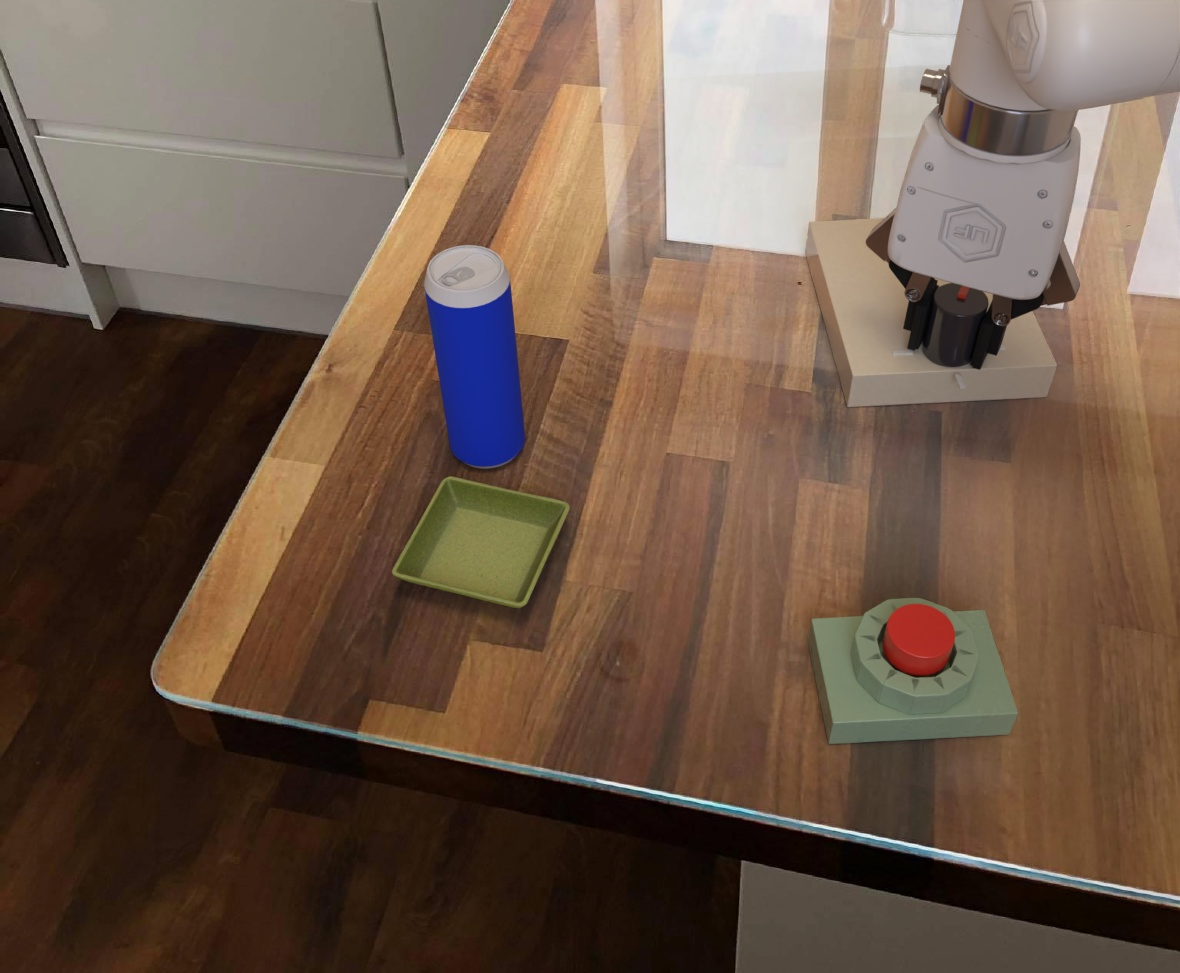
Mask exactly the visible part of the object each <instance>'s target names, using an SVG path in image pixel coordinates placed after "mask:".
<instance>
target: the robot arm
mask: <svg viewBox="0 0 1180 973" xmlns="http://www.w3.org/2000/svg"><path fill="white" fill-rule="evenodd" d="M957 25H958V26H957V31H956V35H955V40H954V46H953V49H952V54H951V60H950V65H949V64H948V65H947V66H946V68H945V69H941V68H939V69H937V70H935V69H930V68H925V69H924V72H923V73H922V77H921V79H920V80H921V81H920V84H919V92H920V93H924V94H928V95H930V97H932V98H935V99H936V104H937V105H936V106H935V107H934V108H933V109H932V110H931V112H930V113H929V114H928V115H926V117H925V119H924V120H923V123H922V125H921V128H920V130H919V132H918V135H917V137H916V139H915V141H914V142H915V143H914V145H913V148H912V149H911V150H912V151H911V155H910V156H909V160H908V163H907V166H906V168H905V173H904V177H903V180H902V182H901V183H902V184H901V187H900V191H899V195H898V198H897V203H896V206H895V208H894V209H893V210H892V211H890V212H889V213H888V214H887V215H885V217H883V218H884V219H883V220H882V221H881V222H880V223H879V224H877V225H876V226H875V227H874V228H873V229H872V231H871V232H870V234H869V236H868V237H867V239H866V245H867V246H868V248H870V249H871V250H872V251H873V252H874V253H875V254H876V255H878V256H879V257H880V258H881V259H882V260H883V261H886V262H887V263H889V268H890V269H891V271H892V272H893V273H894V275H895V276H896V277H897V279H898V280H899V281H900V283H901V284H902V285H903V287H904V288H905V292H904V294H905V297H906V298H907V299H908V300H909V302H908V307H907V312H906V317H905V321H904V326H903V329H905V330H908V331H911V333H910V338H909V342H908V347H907V349H910V350H913V351H915V350H916V349H917V350H918V349H919V347H920V345H921V343H922V341H923V339H924V335H925V330H926V326H927V321H928V317H929V312H930V308H931V303H932V299H933V294H934V292H935V291H936V290H937V288H939V285H937V282H938V280H935V279H934V278H936V279H939V280H943V281H946V282H950V283H954V284H957V285H961V286H965V287H968V288H972V289H976V290H980V291H983V292H987V293H991V294H993V300H992V302H991V304H990V306H989V308H988V311H987V313H986V315H985V317H984V319H983V321H982V324H981V327H980V331H979V334H978V338H977V342H976V345H975V349H974V353H973V357H972V360H971V364H970V365H972V366H973V368H975V369H978V370H980V369H981V367H982V365H983V363H984V360H985V358H986V356H987V354H992V355H995V356H997V354H998V352H999V349H1000V347H1001V344H1002V341H1003V338H1004V334H1005V331H1006V327H1007V325H1008V324H1009V323H1010V321H1011V320H1012V319H1014V318H1017V317H1019V316H1021V315H1024V314H1026V313H1029V312H1031V311H1033V312H1034V311H1036V310H1038V309H1040V308H1041V307H1042V306H1047V307H1048V306H1053V305H1059V304H1064V303H1068V302H1072V301H1074V300H1075V299H1076V298H1077V295H1078V292H1079V290H1080V287H1081V281H1080V279H1079V276H1078V274H1077V272H1076V269H1075V267H1074V264H1073V261H1072V259H1071V256H1070V254H1069V250H1068V248H1067V245H1066V243H1065V238H1066V233H1067V229H1068V226H1069V221H1070V218H1071V213H1072V209H1073V205H1074V199H1075V195H1076V188H1077V185H1078V184H1077V182H1078V176H1079V171H1080V159H1081V149H1082V148H1081V144H1082V137H1081V134H1080V131H1079V129H1078V128H1077V127H1076V126H1075V124H1076V120H1077V117H1078V114H1079V111H1083V110H1087V109H1088V110H1089V109H1094V108H1099V107H1106V106H1111V105H1115V104H1121V103H1126V102H1127V103H1128V102H1133V101H1139V100H1143V99H1146V98H1150V97H1157V96H1162V95H1168V94H1173V93H1179V92H1180V0H963V1H962V5H961V11H960V16H959V20H958V24H957Z"/></svg>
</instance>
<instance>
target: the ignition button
mask: <svg viewBox="0 0 1180 973" xmlns="http://www.w3.org/2000/svg"><path fill="white" fill-rule="evenodd" d="M954 641H955V630H954V627H953V625H952V623H951V621H950V620H949V618H948V617H947V616H946V615H945V614H943V613H942V612H941V611H939V610H937V609H935V608H933V607H931V606H928V605H923V604H909V605H905V606H902V607H900V608H898V609H897V610H895V611H894V612H893V613H892V614H891V615H890V617H889V619H888V622H887V626H886V630H885V634H884V638H883V651H884V654H885V656H886V657H887V659H888V660H889V662H890V663H891V664H892V665H893V666H894V667H896V668H897V669H899V670H900V671H902V672H905V673H907V674H910V675H916V676H927V675H931V674H934V673H936V672H938V671H940V670H941V669H943V668H944V667H945V665H946V664H947V662H948V660H949V657H950V654H951V651H952V648H953V645H954Z"/></svg>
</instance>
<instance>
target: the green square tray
mask: <svg viewBox="0 0 1180 973" xmlns="http://www.w3.org/2000/svg"><path fill="white" fill-rule="evenodd" d="M570 510H571V506H570V504H569V503H568V502H566V501H564V500H560V499H556V498H552V497H548V496H547V497H546V496H542V495H537V494H533V493H527V492H524V491H518V490H513V489H509V488H505V487H500V486H497V485H491V484H487V483H483V482H478V481H473V480H469V479H465V478H460V477H456V476H452V475H451V476H446V477H444V478H443V479H442V480H441V482H440V483H439V485H438V486H437V488H436V491H435V492H434V494H433V496H432V498H431V499H430V502H429V503H428V505H427V507H426V509H425V511H424V513H423V514H422V516H421V518H420V520H419V521H418V524H417V525H416V527H415V528H414V530H413V531H412V534H411V535H410V538H408V541H407V542H406V544H405V546H404V548H403V550H402V552H401V553H400V555H399V557H398V559H397V560H396V562H395V564H394V566H393V567H392V570H391V574H392V575H393V576H394V577H396V578H398V579H400V580H402V581H404V582H407V583H408V582H409V583H412V584H416V585H420V586H425V587H427V588H432V589H437V590H441V591H444V592H449V593H452V594H456V595H461V596H464V597H469V598H472V599H477V600H481V601H485V602H489V603H492V604H497V605H501V606H505V607H507V608H513V609H520V608H523V607H525V606H526V605H527V604H528V602H529V600H530V598H531V596H532V593H533V591H534V589H535V586H536V584H537V583H538V580H539V578H540V576H541V574H542V572H543V569H544V567H545V564H546V562H547V560H548V558H549V556H550V553H551V551H552V549H553V547H554V545H555V542H556V541H557V538H558V536H559V534H560V531H561V529H562V528H563V525H564V522H565V521H566V518H567V516H568V514H569V511H570Z"/></svg>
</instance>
